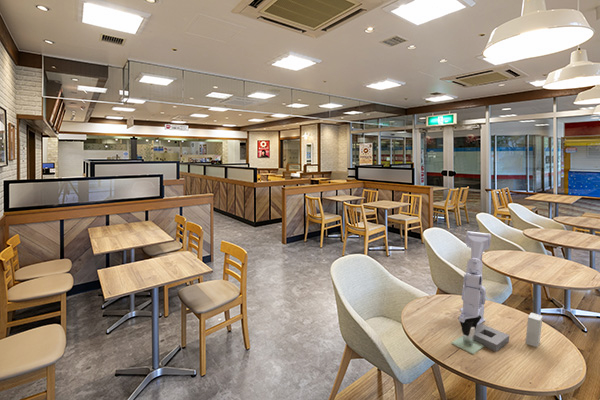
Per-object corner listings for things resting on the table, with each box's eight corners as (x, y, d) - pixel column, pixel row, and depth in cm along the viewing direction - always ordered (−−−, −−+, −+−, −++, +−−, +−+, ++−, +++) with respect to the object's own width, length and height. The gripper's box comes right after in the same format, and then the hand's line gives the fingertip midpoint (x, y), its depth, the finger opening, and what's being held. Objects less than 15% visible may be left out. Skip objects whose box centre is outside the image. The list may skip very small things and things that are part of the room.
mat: (462, 336, 137) (462, 335, 137) (483, 346, 130) (484, 345, 130) (451, 343, 132) (451, 342, 132) (473, 354, 125) (473, 353, 125)
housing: (479, 329, 143) (480, 323, 143) (508, 341, 134) (509, 335, 133) (466, 337, 137) (466, 331, 136) (496, 351, 127) (496, 344, 126)
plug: (467, 338, 134) (468, 323, 132) (475, 343, 130) (477, 327, 129) (460, 340, 132) (461, 324, 131) (468, 345, 128) (469, 329, 127)
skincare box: (527, 337, 137) (530, 312, 135) (539, 342, 134) (543, 315, 132) (524, 343, 133) (527, 317, 131) (537, 348, 130) (540, 320, 128)
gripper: (469, 294, 136) (467, 323, 138) (452, 303, 128) (449, 334, 130) (487, 300, 130) (484, 330, 132) (469, 309, 122) (467, 342, 124)
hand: (468, 332), depth 130 cm, fingers closed on plug, 4 cm apart
